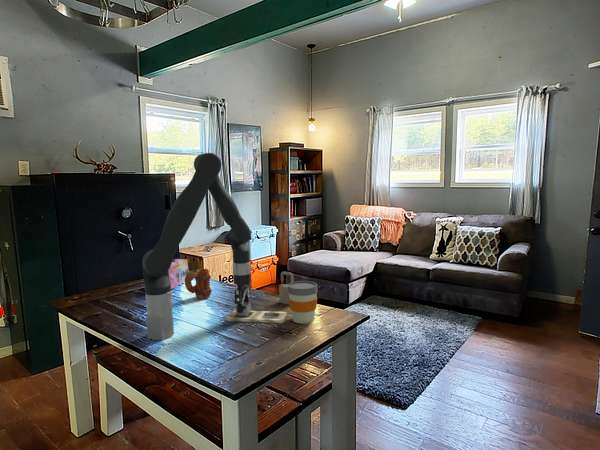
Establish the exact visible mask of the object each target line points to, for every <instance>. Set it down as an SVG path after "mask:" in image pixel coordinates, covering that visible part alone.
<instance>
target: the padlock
mask: <svg viewBox="0 0 600 450" xmlns="http://www.w3.org/2000/svg"><path fill="white" fill-rule="evenodd" d="M284 275H285V276H289V277H290V283H292V282H295V281H294V274H293V273H292V272H289V271H282V272H281V273H280V281H281V284H279V285H278V294H279V295H278V296H279V302H280V303H281V304H285V305H289V299H288V298H289V293H288V284H285V283H284V280H285V278H284V277H285V276H284Z"/></svg>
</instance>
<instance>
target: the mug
mask: <svg viewBox="0 0 600 450" xmlns="http://www.w3.org/2000/svg"><path fill="white" fill-rule="evenodd" d="M211 278H212V276H211V274H210V272H209V269H208V268H201V269H197V270H195V272H194V271H191V270H189V272H188V273H187V274H186V276H185V283H184V286H185V289H186V290H187V291H188V292H189V293H191V294H195V297H196V298H198V299H207V298H210V296H211V293H212V292H213V290H212V289H211V284H210V283H211V282H210V281H211V280H210V279H211ZM193 280H194V281H195V285H193V284H192V281H193Z"/></svg>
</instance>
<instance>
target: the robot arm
mask: <svg viewBox="0 0 600 450" xmlns="http://www.w3.org/2000/svg"><path fill="white" fill-rule="evenodd" d="M222 164H223V163H222V160H221V158H220V156H219V155H218V154H216V153H213V152H203V153H200V154H198V155H197V156H195V159H194V160H193V168H194V170H195V172H194V173H193V175H192V178H191V180H190V181H189V183H188V184H187V186H186V187H185V188H184V189H183V190H182V191H181V193H180V194H179V195H178V196H177V198H176V199H175V200H174V202H173V204H172V206H171V208H170V209H169V212H168V214H167V217H166V218H165V222H164V225H163V229H162V232H161V235H160V238H159V239H158V242H156V244H155V246H154V248H153V249H150V250H148V251H147V252H146V253H145V254H144V255H143V257H142V261H141V262H142V265H141V266H142V275H143V286H144V293H145V306H146V315H145V321H146V332H147V333H146V334H147V340H150V339H152V340H153V341H155V340H156V341H163V340H166V339H168V338H170V337H172V336H174V334H175V328H174V314H173V313H174V312H173V301H172V299H173V298H172V297H173V296H172V290H171V284H170V279H169V271H168V270H169V268H170V266H171V263H172V261H173V260H174V259H175V258H174V257H175V255H176V252H177V251H178V247H179V246H180V244H181V242H182V241H183V239H184V237H185V236H186V234H187V232H188V231H189V229H190V227H191V225H192V224H193V221H194V219H195V218H196V216H197V213H198V212H199V209H200V207H201V205H202V203H203V201H204V199H205V197H206V194H207V193H208V191H209V193H210V195H211V197H212V199H213V201H214V203H215V204H216V207H217V210H219V213H220V215H221V217H222V218H223V221H224V222H225V224H227V225H228V226H229V228H230V230H229V237H228V238H229V242H230V247H231V251H232V278H233V285H235V286H237V288H236V289H234V304H235V305H237V311H238V313H242V312H243V302H250V295H251V294H252V293H251V292H252V291H251V290H252V289H251V283H252V268H251V260H250V259H251V257H250V249H249V248H247V246H246V244H247V243H248V242H249V241H250V240H251V237H252V232H251V229H250V227H249V226H248V224H247V222H246V221H245V219H244V218H243V217H242V215H241V213H240V211H239V209H238V207H237V205H236V202H235V200H234V199H233V197H232V196H231V194H230V193H229V191H228V190H227V189H226V187H225V186H224V184H223V183H222V180H221V178H220V176H219V173H220V172H221V169H222ZM152 340H151V341H152Z"/></svg>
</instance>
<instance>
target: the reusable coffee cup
mask: <svg viewBox="0 0 600 450" xmlns="http://www.w3.org/2000/svg"><path fill="white" fill-rule="evenodd" d="M287 285H288V293H289V298H288V299H289V304H288V305H289V309H290V311H291V315H292V316H291V318H292V321H293V322H294V323H296V324H310V323H312V322H314V320H315V313H316V309H317V305H318V297H317V294H318V283H316V282H314V281H310V280H299V281H294V282H292V283H291V282H290V283H288V284H287Z"/></svg>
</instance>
